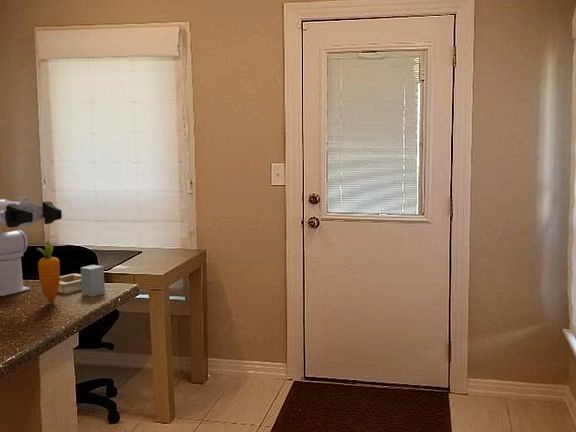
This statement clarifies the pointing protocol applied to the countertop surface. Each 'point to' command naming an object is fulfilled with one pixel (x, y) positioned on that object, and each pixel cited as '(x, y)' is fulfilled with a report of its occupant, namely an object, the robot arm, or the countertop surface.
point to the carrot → (49, 273)
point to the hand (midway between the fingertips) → (46, 215)
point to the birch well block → (70, 283)
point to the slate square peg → (92, 280)
